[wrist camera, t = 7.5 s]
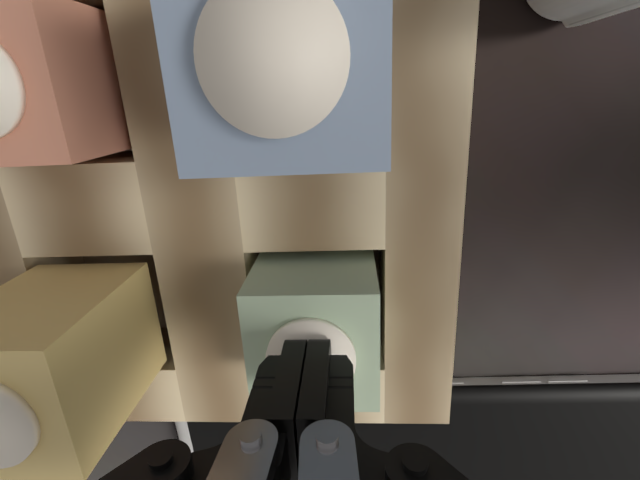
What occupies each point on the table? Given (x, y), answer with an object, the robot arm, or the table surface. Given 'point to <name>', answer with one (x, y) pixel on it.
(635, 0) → the photo printer
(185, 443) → the robot arm
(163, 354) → the button
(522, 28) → the table surface
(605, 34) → the table surface
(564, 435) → the smartphone
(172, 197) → the board
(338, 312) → the button
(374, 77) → the button
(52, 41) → the button
